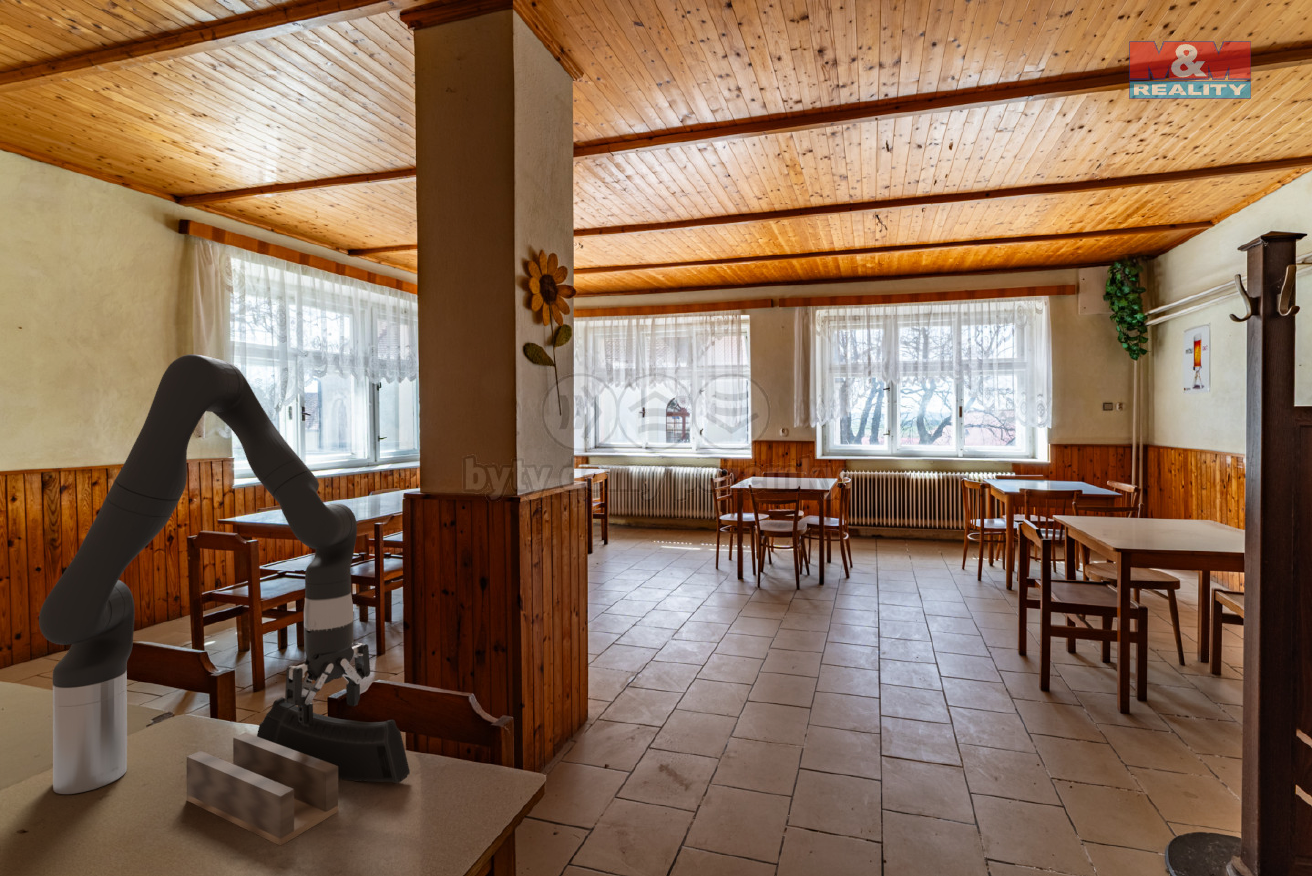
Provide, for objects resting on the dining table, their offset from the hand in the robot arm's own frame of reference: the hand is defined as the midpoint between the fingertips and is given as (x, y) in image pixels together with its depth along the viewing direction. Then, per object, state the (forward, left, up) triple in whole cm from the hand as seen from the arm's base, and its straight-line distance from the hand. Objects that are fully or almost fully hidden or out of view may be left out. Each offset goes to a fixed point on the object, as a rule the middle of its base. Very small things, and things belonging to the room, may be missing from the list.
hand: (330, 714), depth 108 cm
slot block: (0, -12, -10) cm, 15 cm away
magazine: (0, 0, -10) cm, 10 cm away
